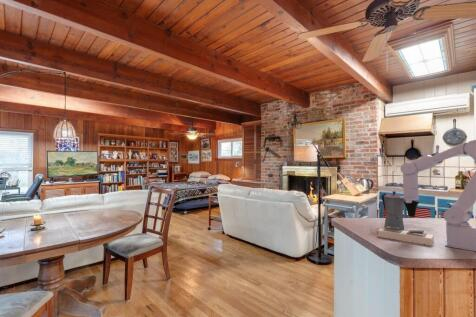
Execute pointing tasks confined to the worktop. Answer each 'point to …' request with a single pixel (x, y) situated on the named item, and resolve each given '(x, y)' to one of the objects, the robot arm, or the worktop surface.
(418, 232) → the rocker
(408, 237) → the power strip
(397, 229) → the rocker
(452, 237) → the robot arm
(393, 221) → the moka pot
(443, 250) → the worktop surface
